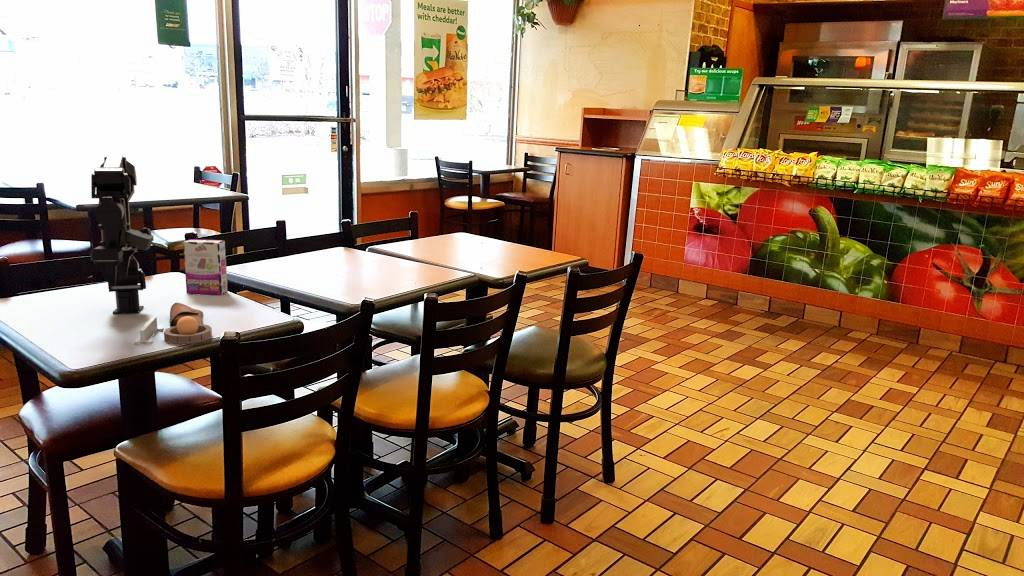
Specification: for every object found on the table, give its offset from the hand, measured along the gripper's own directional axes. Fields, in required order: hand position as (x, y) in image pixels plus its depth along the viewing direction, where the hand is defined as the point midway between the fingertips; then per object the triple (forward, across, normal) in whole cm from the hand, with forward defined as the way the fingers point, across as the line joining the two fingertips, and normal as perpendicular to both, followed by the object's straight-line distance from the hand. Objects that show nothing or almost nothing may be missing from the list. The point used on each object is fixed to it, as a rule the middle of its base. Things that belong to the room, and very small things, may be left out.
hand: (118, 281), depth 189 cm
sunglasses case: (+13, +7, -14) cm, 21 cm away
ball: (+12, -6, -17) cm, 22 cm away
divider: (+13, -5, -8) cm, 16 cm away
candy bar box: (+13, +40, -13) cm, 44 cm away
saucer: (+13, -6, -17) cm, 22 cm away
